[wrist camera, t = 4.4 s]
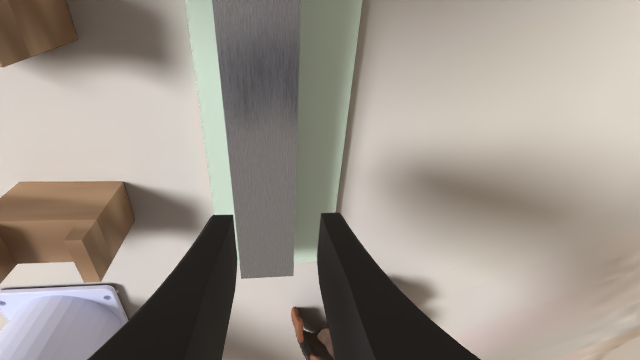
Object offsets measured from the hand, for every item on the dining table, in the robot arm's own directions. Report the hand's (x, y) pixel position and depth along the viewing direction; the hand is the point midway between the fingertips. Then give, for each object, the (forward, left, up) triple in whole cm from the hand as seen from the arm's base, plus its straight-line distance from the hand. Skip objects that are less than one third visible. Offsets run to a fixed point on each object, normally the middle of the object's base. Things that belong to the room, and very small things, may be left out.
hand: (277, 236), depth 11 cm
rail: (0, +2, -7) cm, 8 cm away
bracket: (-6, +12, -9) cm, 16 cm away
